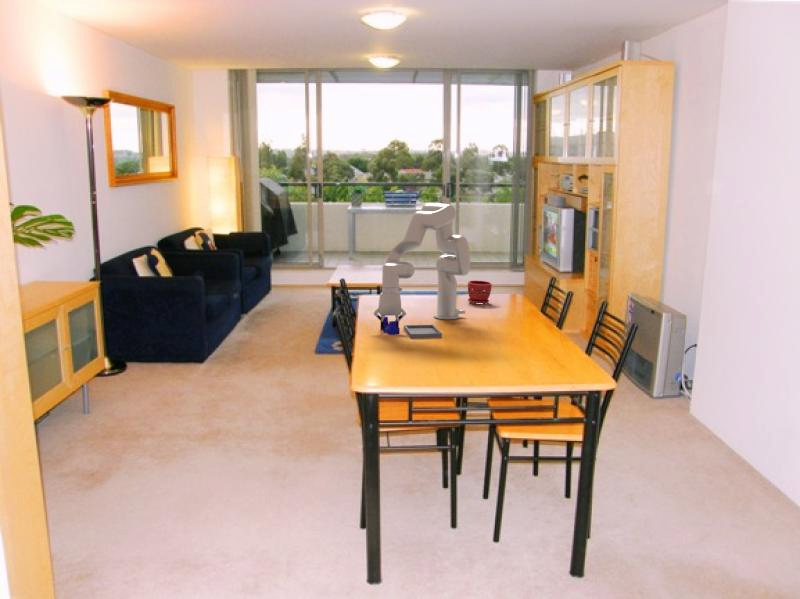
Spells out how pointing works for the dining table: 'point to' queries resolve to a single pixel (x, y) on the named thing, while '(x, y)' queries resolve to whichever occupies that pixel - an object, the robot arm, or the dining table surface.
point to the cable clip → (390, 327)
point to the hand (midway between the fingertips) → (389, 329)
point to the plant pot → (479, 291)
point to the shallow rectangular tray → (422, 331)
